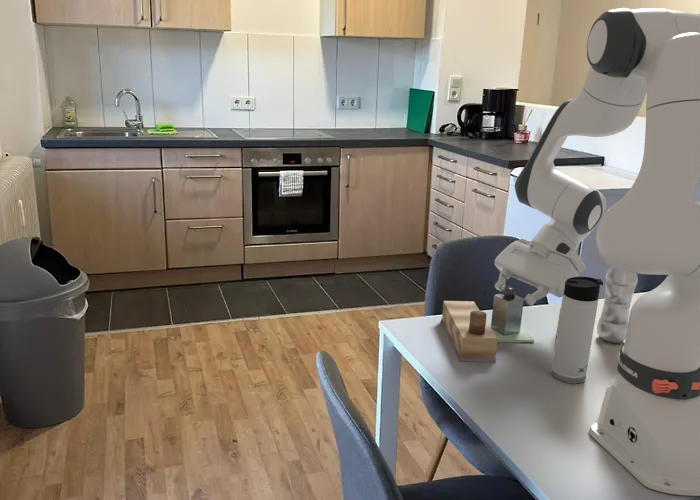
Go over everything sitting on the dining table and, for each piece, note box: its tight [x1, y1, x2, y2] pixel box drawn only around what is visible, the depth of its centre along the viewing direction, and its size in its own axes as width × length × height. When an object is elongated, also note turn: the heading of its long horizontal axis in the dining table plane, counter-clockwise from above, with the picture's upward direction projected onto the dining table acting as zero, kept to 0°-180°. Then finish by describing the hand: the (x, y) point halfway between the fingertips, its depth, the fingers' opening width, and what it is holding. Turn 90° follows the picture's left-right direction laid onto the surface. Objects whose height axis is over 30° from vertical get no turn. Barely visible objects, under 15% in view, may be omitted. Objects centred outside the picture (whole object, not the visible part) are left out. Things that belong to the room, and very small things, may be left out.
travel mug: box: [551, 276, 604, 384], centre depth 120 cm, size 6×7×20 cm
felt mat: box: [486, 320, 535, 344], centre depth 142 cm, size 10×10×1 cm
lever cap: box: [490, 285, 525, 336], centre depth 140 cm, size 4×4×10 cm
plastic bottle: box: [596, 267, 639, 344], centre depth 137 cm, size 6×7×20 cm
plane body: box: [440, 300, 498, 363], centre depth 136 cm, size 21×7×9 cm, turn 3°
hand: (512, 295), depth 140 cm, fingers open, 8 cm apart
